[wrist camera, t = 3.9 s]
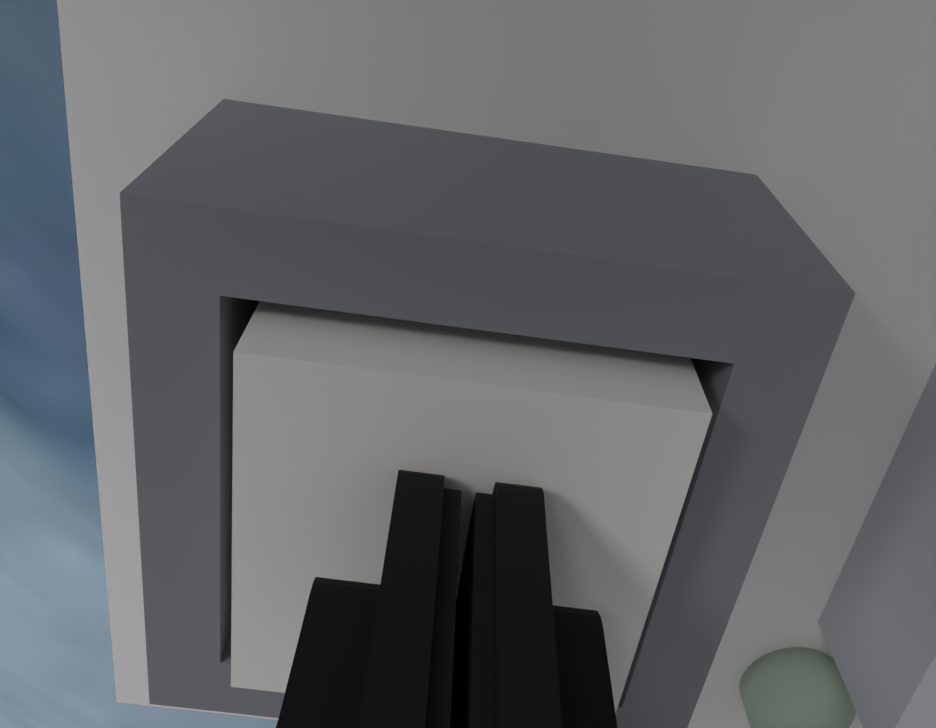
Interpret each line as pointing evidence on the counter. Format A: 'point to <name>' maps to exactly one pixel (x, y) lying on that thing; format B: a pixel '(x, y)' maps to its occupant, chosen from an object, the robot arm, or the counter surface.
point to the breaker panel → (538, 295)
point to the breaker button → (447, 462)
